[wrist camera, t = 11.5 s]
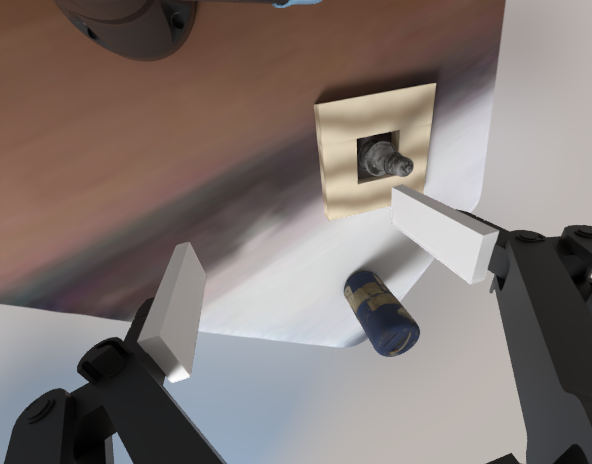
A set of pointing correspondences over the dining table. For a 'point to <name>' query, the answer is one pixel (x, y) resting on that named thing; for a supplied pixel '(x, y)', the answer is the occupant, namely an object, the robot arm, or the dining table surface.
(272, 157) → the dining table surface
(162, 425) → the robot arm
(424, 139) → the socket
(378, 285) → the canister
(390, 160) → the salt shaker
